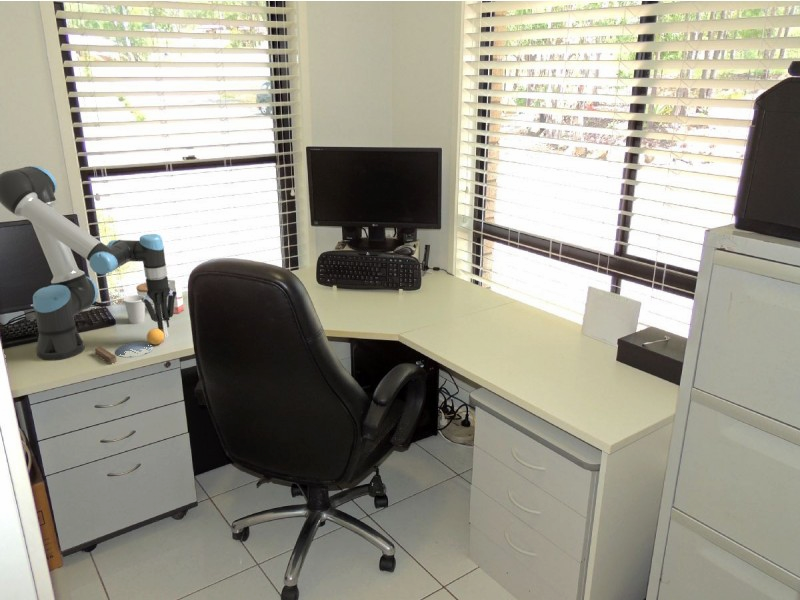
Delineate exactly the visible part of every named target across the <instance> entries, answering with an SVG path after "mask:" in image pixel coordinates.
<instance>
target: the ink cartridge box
mask: <svg viewBox="0 0 800 600" xmlns="http://www.w3.org/2000/svg"><path fill="white" fill-rule="evenodd" d="M168 284H169V285H168V286H169V288H170V290H173V291H175V292H176V293H177V294H176V296H175V299H174V309H173V314H180V313H182V312H183V311H184V309H185V307H184V297H183V296H184V295H183V289H182V288H183V287H182V284H181V283H180V284H179V283H176V280H174V279H172V280H171V279H168ZM168 296H169V295H168ZM168 296H167V305H168ZM160 306H161V304H160ZM182 310H183V311H182ZM179 312H180V313H179ZM161 313H162V311H161Z"/></svg>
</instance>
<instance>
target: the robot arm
mask: <svg viewBox="0 0 800 600" xmlns="http://www.w3.org/2000/svg"><path fill="white" fill-rule="evenodd" d="M57 188H58V187H57V180H56V179H55V177H54V175H53V174H52V173H51V172H50V171H49V170H48V169H45V168H43V167H42V166H37V165H33V166H24V167H21V168H16V169H10V170H5V171H3V172H1V173H0V204H1V205H2V207H4V208H5V209H6V210H8V211H9V212H11V213H12V214H13V215H15V216H16V217H24V219H26V220H27V221H30V223H31V224H32V226H33V229H34V232H35V234H36V237H37V239H38V242H39V244H40V247H41V249H42V252H43V254H44V256H45V258H46V262H47V263H48V266H49V269H50V271H51V273H52V279H51V281H50V283H51V285H48V286H44V287H41V288H39V289H37V291H35V292H34V293H33V296H32V306H33V307H32V308H33V310H34V316H35V320H36V325H37V330H38V337H37V338H38V339H37V344H36V349H35V351H36V356H37V357H38V358H39V359H41V360H45V361H46V360H47V361H57V360H58V361H59V360H64V359H69V358H72V357H75V356H77V355H79V354H81V353H82V352H84V350H85V344H84V340H83V339H82V336H81V335H80V333H79V332H78V330H77V328H76V321H75V316H77V315H78V314H80V313H81V312H83V311H84V310H87V309H88V308H91V306H92V305H94V303H95V302H96V301H97V299H98V295H99V289H98V286H97V284H96V282H95V281H94V280H93V279H91V278H90V277H88V276H87V275H86V273H85V271H83V270H81V269H80V268H79V267H78V265H77V262H76V260H75V259H76V258H75V257H74V254H73V252H75V253H77V254H78V255H80V256H81V257H82V258H84V259H86V260H87V261H88V263H89V267H90V268H91V269H92V271H93V272H94V273H96V274H99V275H106V274H109V273H112V272H114V271H115V270H116V269H118V268H120V267H122V266H124V265H126V264H127V263H129V262H142V263H143V270H144V276H145V283H146V285H147V290H148V291H147V296H146V297H145V298H142V299H141V300H142V302H144V303H145V309H146V310H147V313H148V314H149V317H150V319H151V321H153V322H155V323H156V322H157V329H160V330H161V331H162V332H163V333H164V339H167V338H168V337H169V331H168V328H169V327H170V320H171V319H170V318H172V317H173V316H174V313H173V309H174V299H175V296H176V294H177V293H176V292H175V291H173V290H170V288H169V286H168V285H169V284H168V283H169V282H168V280H169V279H168V276H167V275H168V271H167V264H166V258H165V246H164V242H163V237H162V236H161V235H160V234H158V233H151V234H148V233H147V234H143V235H141V236H140V237H139V240H131V239H130V240H127V239H117V240H110V241H108V244H107V245H106V244H105V243H103V242H101V241H100V240H99V239H97V238H96V237H94V236H93V235H91V234H90V233H89V232H87V231H85V230H84V229H83V228H82V227H80V226H79V225H77V224H75V223H74V222H72V221H71V220H69V219H68V218H67V217H66V216H64V215H62V214H61V213H60V212H58V211H56V209H55V205H56V202H57V199H56V197H55V193H56V190H57ZM168 295H169V296H168ZM167 296H168V305H167ZM150 299H152V300H153V303H154V304H153V306H154V308H153V306H152V305H151V303H150ZM160 304H161V306H160ZM161 311H162V312H161Z"/></svg>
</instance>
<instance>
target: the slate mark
mask: <svg viewBox="0 0 800 600" xmlns="http://www.w3.org/2000/svg"><path fill="white" fill-rule="evenodd" d="M148 345H149V346H148ZM150 345H153V344H151V343H150V342H146V341H145V342H144V341H142V342H141V341H139V342H137V341H136V342H129V343H126V344H123V345H121V346H119V347H117V348H116V349H115V355H116V354H117V355H116V356H118V355H120V354H121V355H125V353H126V352H125V351H132V350H130V349H133V350H136V351H139V352H141V351H142V350H140V349H146V347H147V349H146V350H148V349H149V348H151V347H153V346H154V345H153V346H150ZM144 347H145V348H144ZM150 350H151V349H149V350H148V351H150ZM124 352H125V353H124ZM132 352H134V351H132ZM134 353H136V352H134ZM137 354H138V353H137Z"/></svg>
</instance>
